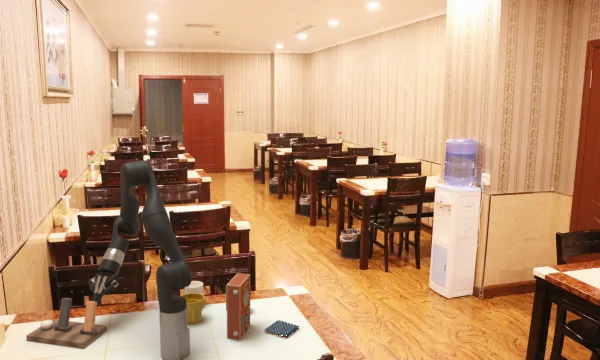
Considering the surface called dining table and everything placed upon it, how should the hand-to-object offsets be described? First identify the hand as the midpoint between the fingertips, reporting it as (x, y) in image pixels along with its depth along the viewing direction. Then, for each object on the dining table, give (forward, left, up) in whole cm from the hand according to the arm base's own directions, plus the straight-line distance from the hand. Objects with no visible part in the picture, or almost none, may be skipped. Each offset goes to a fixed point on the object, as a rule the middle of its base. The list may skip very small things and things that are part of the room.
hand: (94, 304), depth 186 cm
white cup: (-16, -38, -12) cm, 43 cm away
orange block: (-1, +4, -9) cm, 10 cm away
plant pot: (-24, -27, -12) cm, 38 cm away
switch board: (+8, +6, -12) cm, 15 cm away
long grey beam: (+10, +7, -9) cm, 15 cm away
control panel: (-46, -28, -12) cm, 55 cm away
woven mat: (-60, -37, -13) cm, 72 cm away
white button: (+16, +9, -9) cm, 21 cm away
